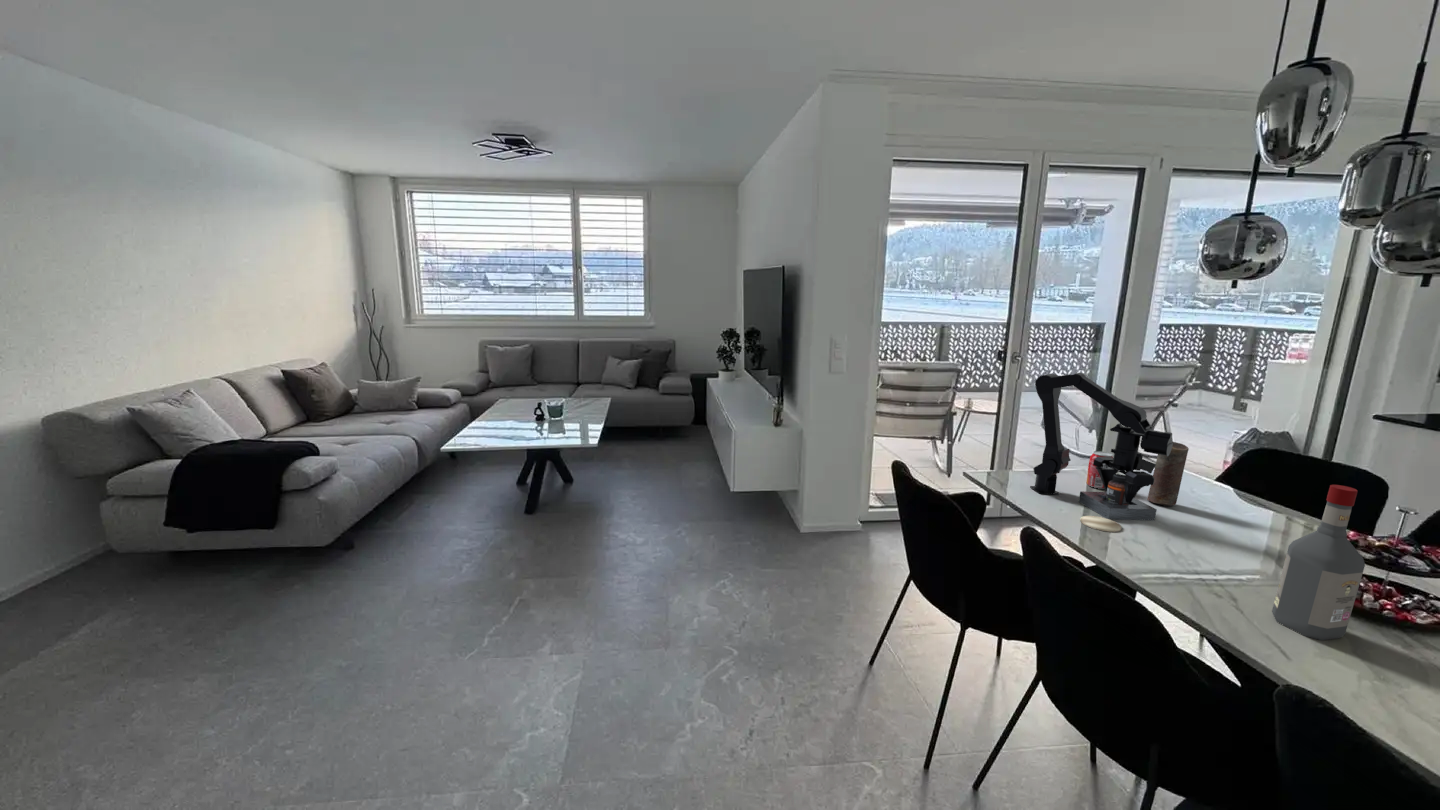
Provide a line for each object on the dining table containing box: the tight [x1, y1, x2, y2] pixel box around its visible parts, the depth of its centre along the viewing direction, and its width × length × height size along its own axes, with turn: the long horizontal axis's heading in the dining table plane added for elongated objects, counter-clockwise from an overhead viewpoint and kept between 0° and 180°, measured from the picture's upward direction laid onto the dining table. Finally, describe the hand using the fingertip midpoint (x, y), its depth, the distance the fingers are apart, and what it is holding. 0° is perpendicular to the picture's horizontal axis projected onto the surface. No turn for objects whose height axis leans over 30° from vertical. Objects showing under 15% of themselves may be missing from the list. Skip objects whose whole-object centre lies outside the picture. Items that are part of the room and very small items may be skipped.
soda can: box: [1085, 450, 1114, 490], centre depth 197 cm, size 7×7×12 cm
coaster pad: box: [1079, 515, 1123, 533], centre depth 165 cm, size 10×10×1 cm
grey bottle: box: [1271, 484, 1366, 641], centre depth 114 cm, size 9×9×30 cm
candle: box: [1146, 440, 1190, 507], centre depth 181 cm, size 8×7×20 cm
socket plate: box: [1078, 491, 1157, 521], centre depth 176 cm, size 14×14×4 cm
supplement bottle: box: [1105, 473, 1129, 505], centre depth 175 cm, size 6×6×11 cm
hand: (1117, 496), depth 175 cm, fingers open, 9 cm apart
